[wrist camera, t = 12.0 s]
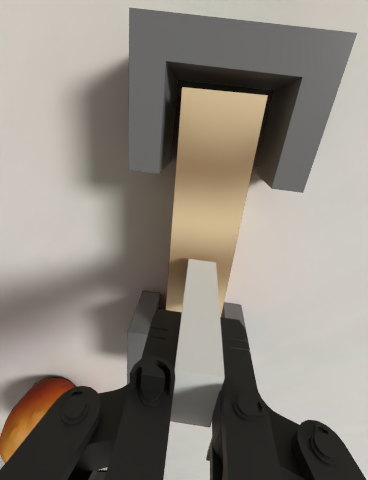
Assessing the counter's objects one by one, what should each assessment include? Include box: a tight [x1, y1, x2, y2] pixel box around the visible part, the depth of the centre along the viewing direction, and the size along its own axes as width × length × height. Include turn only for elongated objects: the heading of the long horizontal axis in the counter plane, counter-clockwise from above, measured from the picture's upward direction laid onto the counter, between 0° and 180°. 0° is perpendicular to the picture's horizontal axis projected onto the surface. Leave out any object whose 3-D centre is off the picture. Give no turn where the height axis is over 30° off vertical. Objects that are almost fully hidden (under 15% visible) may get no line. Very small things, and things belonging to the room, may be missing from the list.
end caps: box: [127, 8, 357, 384], centre depth 16 cm, size 23×8×4 cm, turn 174°
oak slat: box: [166, 87, 268, 317], centre depth 16 cm, size 18×4×5 cm, turn 175°
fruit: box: [0, 378, 75, 463], centre depth 26 cm, size 8×8×8 cm
